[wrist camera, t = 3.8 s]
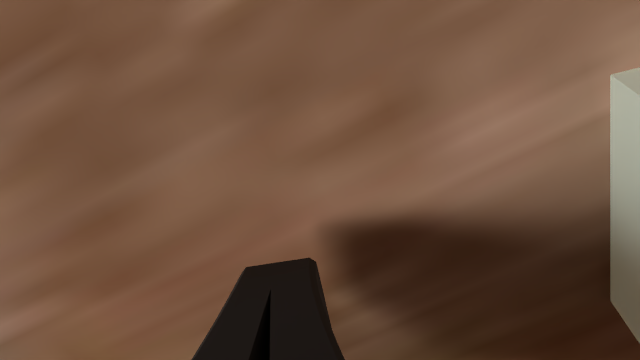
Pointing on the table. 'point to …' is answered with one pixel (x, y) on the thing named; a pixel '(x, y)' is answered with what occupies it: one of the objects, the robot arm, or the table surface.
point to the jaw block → (625, 197)
